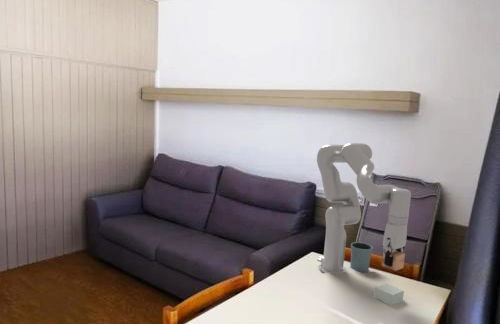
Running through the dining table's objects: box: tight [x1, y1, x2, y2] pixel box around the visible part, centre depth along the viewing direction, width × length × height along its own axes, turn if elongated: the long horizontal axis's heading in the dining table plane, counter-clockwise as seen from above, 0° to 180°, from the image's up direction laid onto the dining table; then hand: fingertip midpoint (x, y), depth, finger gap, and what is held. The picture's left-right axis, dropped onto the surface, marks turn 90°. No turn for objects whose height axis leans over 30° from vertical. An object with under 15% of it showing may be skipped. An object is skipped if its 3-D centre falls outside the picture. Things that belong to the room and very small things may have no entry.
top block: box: [381, 250, 406, 272], centre depth 162 cm, size 6×6×6 cm
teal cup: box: [349, 241, 374, 274], centre depth 196 cm, size 10×10×12 cm
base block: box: [373, 282, 404, 306], centre depth 164 cm, size 8×8×4 cm
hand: (392, 263), depth 162 cm, fingers closed on top block, 6 cm apart
